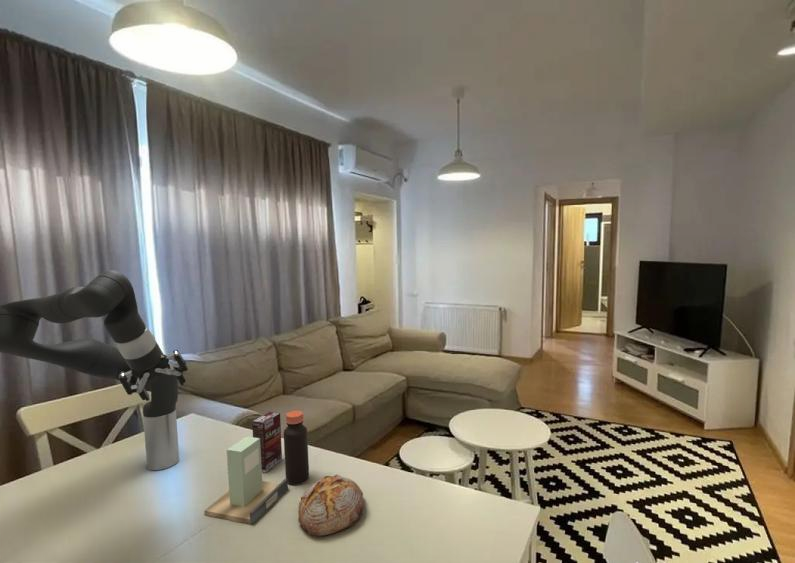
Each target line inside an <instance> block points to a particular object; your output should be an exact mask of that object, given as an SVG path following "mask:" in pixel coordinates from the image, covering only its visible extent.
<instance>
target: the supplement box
mask: <svg viewBox="0 0 795 563" xmlns="http://www.w3.org/2000/svg"><path fill="white" fill-rule="evenodd" d="M251 424H252V437H254V438H260V448H261V467H262V473H267V472H269V470H272V468H273V467H275V466H276V465H277V464H278V463H280V462H281V461H283V455H282V454H283V449H282V447H283V446H282V428H281V427H282V426H281V424H282V423H281V413H280V412H276V411H268V412H267V413H265V414H262V415H261V416H259V417H258V418H256V419H254V420H252V423H251Z"/></svg>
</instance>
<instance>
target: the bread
mask: <svg viewBox="0 0 795 563" xmlns="http://www.w3.org/2000/svg"><path fill="white" fill-rule="evenodd" d="M307 487H308V486H307ZM364 505H365V501H364V492H363V490H362V489H361V487H360V486H359V485H358V483H356V481H354V480H352V479H350V478H349V477H348V478H347V477H344V476H341V475H340V474H335V475H333V476H331V475H326V476H324V477H322V478H321V479H319V480H317V481H316V482H313V483H312V484H311V485H310V486H309V487H308V488H307V489H306V490H305V491H304V492H303V494H302V495H301V496H300V501H299V503H298V513H297V514H298V523H299V525H300V526H301V527H302V529H303V530H305V531H306V532H307V533H309V535H312V536H315V537H323V536H328V535H332V534H336V533H338V532H340V531H342V530H345V529H348V528H350V527H351V526H353V525H355V524H356V523H357V522H359V521H360V518H361V516H362V514H363V512H364V508H365V506H364Z"/></svg>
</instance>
